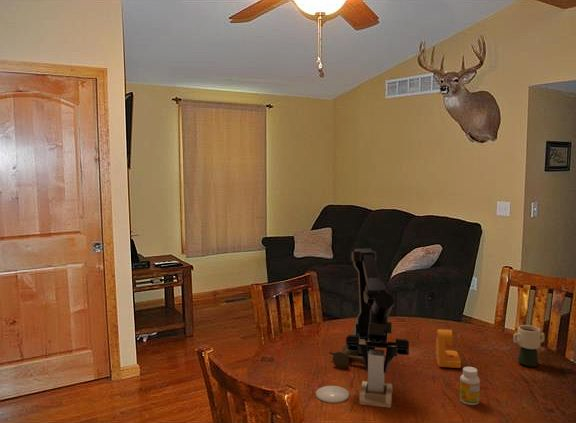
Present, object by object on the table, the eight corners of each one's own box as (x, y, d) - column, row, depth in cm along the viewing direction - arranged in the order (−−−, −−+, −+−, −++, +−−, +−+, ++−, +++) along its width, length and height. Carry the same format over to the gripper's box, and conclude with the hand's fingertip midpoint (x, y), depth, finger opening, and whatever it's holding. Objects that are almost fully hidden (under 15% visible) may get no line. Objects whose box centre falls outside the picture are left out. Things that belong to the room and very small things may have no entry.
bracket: (461, 370, 162) (462, 336, 161) (439, 368, 163) (439, 334, 162) (456, 358, 173) (457, 325, 172) (435, 356, 174) (436, 324, 173)
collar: (362, 390, 148) (362, 381, 148) (392, 393, 146) (392, 384, 146) (359, 404, 139) (359, 394, 139) (390, 407, 137) (391, 397, 137)
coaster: (309, 392, 147) (309, 390, 147) (335, 384, 152) (335, 383, 152) (329, 406, 138) (329, 404, 138) (355, 397, 144) (355, 395, 144)
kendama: (377, 378, 158) (323, 365, 168) (386, 368, 167) (333, 356, 176) (378, 360, 158) (323, 348, 167) (387, 351, 166) (334, 340, 176)
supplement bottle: (456, 397, 143) (457, 365, 142) (473, 396, 143) (474, 365, 143) (464, 406, 138) (465, 373, 137) (482, 405, 138) (483, 372, 137)
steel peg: (369, 387, 145) (369, 349, 144) (384, 388, 144) (384, 350, 143) (367, 394, 141) (368, 354, 140) (383, 395, 140) (383, 356, 139)
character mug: (537, 360, 170) (538, 324, 168) (549, 368, 163) (550, 331, 161) (507, 360, 169) (508, 325, 168) (517, 369, 162) (519, 332, 161)
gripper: (346, 309, 146) (341, 358, 137) (409, 313, 142) (408, 363, 132) (349, 325, 155) (345, 373, 145) (409, 330, 150) (408, 379, 140)
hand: (375, 371), depth 140 cm, fingers closed on steel peg, 4 cm apart
